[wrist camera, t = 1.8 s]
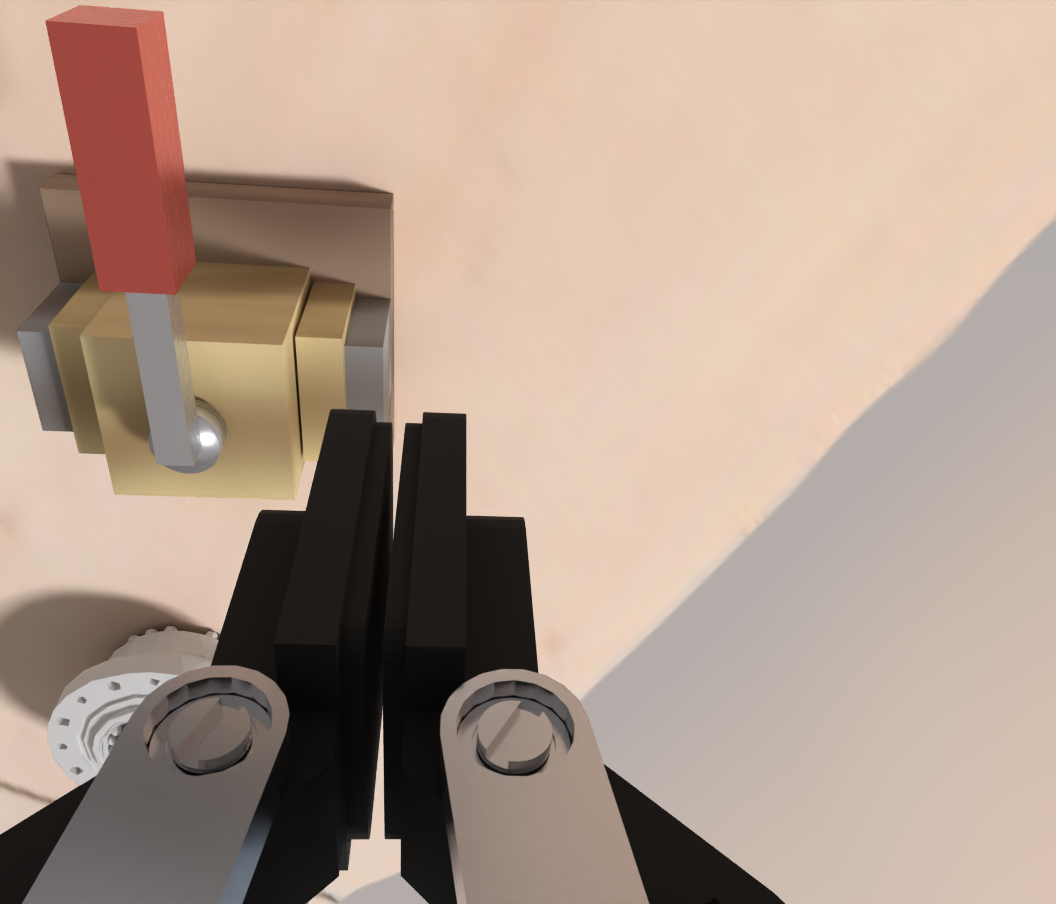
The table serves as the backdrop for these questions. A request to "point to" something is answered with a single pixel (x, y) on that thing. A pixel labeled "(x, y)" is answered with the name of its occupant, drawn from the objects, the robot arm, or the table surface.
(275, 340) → the valve block
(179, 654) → the mechanical component
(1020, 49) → the table surface
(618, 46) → the table surface
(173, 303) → the valve lever
